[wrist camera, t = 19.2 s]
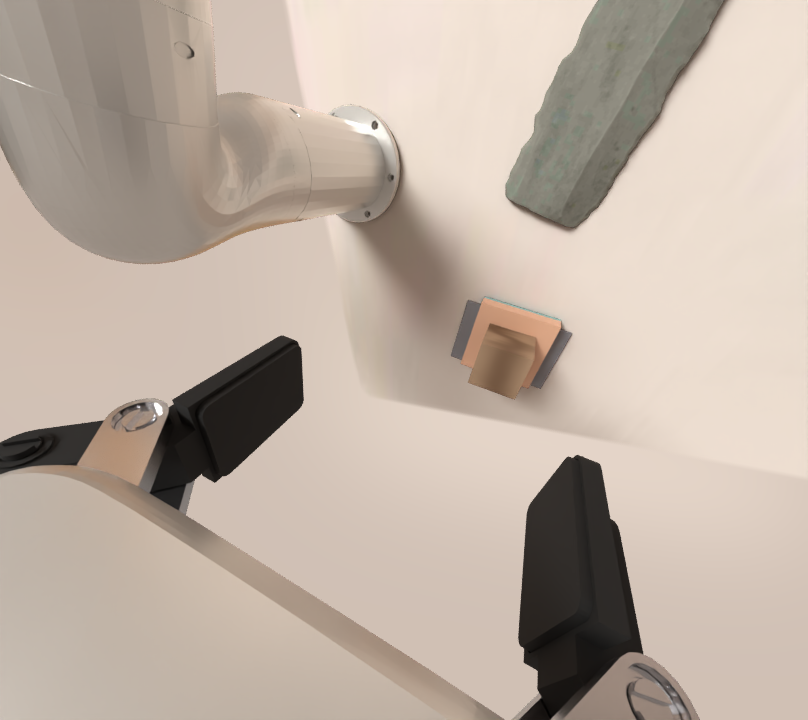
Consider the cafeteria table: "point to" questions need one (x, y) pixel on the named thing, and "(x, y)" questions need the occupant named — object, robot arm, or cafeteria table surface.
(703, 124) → the cafeteria table surface
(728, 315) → the cafeteria table surface
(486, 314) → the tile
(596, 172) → the stone slab
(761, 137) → the cafeteria table surface
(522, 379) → the walnut block
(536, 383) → the mat
